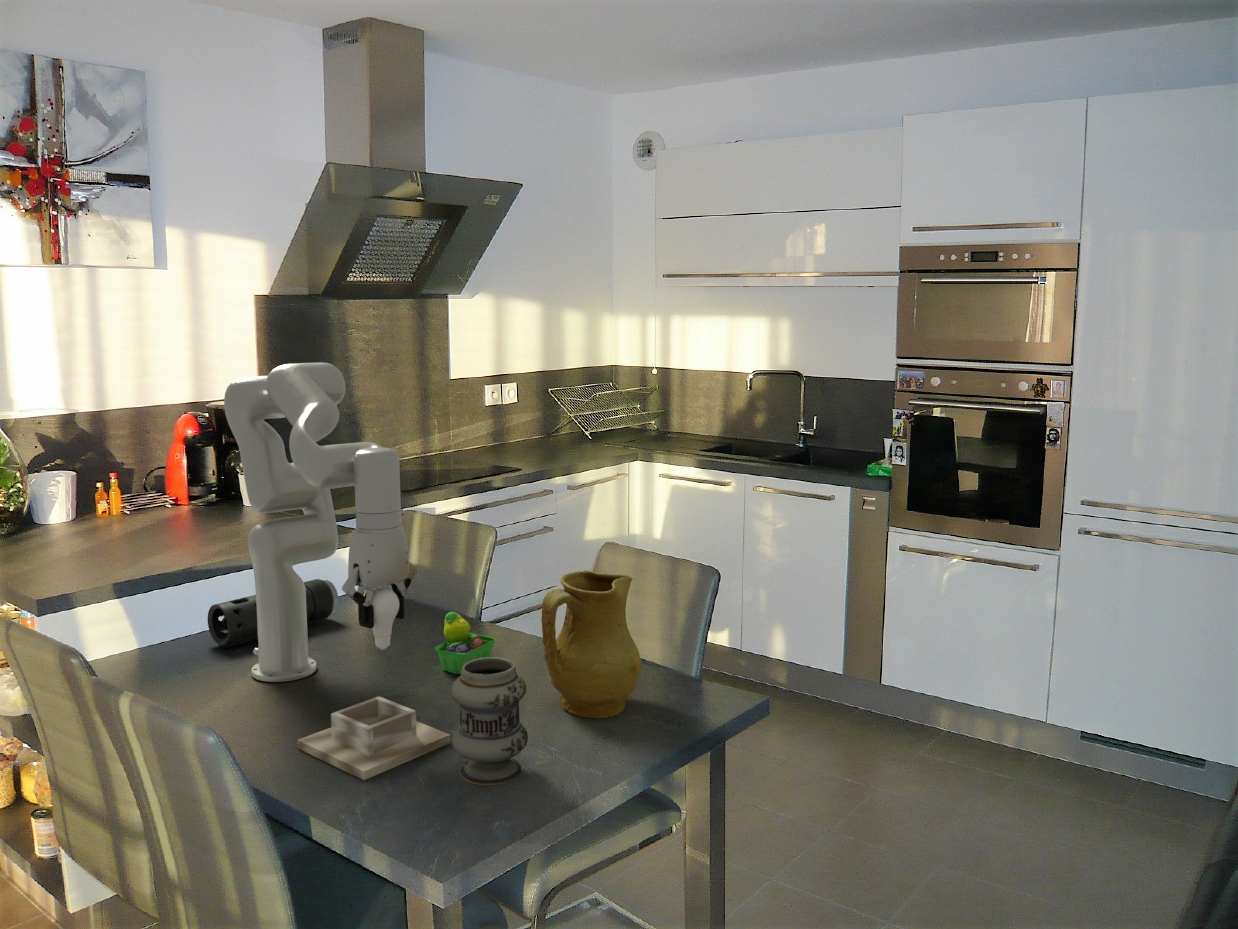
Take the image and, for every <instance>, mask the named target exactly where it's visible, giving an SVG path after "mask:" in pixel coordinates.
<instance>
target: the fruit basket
mask: <svg viewBox="0 0 1238 929" xmlns="http://www.w3.org/2000/svg"><path fill="white" fill-rule="evenodd" d="M443 626H444V627H443V635H444V638H445V639H446V641H445V642H443V643H441V644H439V645H437V646H436V647H435V651H436V654H438V659H439V662H440V664H441V665H440V666H441V668H442V671H444V672H448V673H451V674H458V675H460V676H461V671H462V667H463V665H464V664H465V663H467V662H469V661H471V660H474V659H478V658H484V657H491V653H492V651H493V650H492V649H493V645H494V644H495V642H496V638H494V637H492V636H491V637H490V636H486V635H482V634H477V633H472V632H470V631H471V629H472V627H471V625H470V623H469V622H468V621H467V620H466V619H465V618H463V617H462V616H461V615H460V614H459V613H457V612H455V611H449V612H447V613H446V615H445V616H444V625H443Z"/></svg>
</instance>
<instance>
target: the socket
mask: <svg viewBox="0 0 1238 929" xmlns="http://www.w3.org/2000/svg"><path fill="white" fill-rule="evenodd" d="M330 726H331V727H329V728H326V729H323V730H321V731H317V732H315V733H312V734H309V735H307V736H304V737H301V738H299V739H297V749H298V750H300V751H302V752H304V753H306V754H309V755H311V756H312V757H315V758H317V759H319V760H321V761H324V762H325V763H328V764H330V765H332V766H334V767H336V768H337V769H339V770H341V771H344V772H346V773H348V774H350V775H352V776H355V777H356V778H358V779H360V780H363V781H366V780H369V779H371V778H373V777H375V776H377V775H379V774H382V773H385V772H387V771H388V770H391V769H393V768H396V767H399V766H401V765H403V764H405V763H407V762H411V761H412V760H413V759H416V758H418V757H422V756H423V755H426V754H427V753H430V752H433V751H435V750H437V749H439V748H441V747H442V748H443V746H447V745H448V744H450V743H451V734H449V733H447V732H445V731H442V730H439V729H437V728H435V727H432V726H430V725H427V724H424V723H423V722H419V721H418V720H417V710H415V709H412V708H410V707H407V706H405V705H402V704H399V703H397V702H395V701H393V700H389V699H387V698H384V697H382V696H379V695H378V696H376V697H372V698H371V699H370V698H369V699H367V700H365V701H362V702H358V703H356V704H353V705H351V706H347V707H345V708H343V709H340V710H337V711H334V712H332V713H330Z"/></svg>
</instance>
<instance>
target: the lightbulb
mask: <svg viewBox="0 0 1238 929" xmlns="http://www.w3.org/2000/svg"><path fill="white" fill-rule="evenodd" d="M370 605H373V611H374V627H373V628H371V629H372V634H373V636H374V643H375V646H376V648H379V649H380V650H382V651H383V650H386V649H387V648H388V647H390V645H391V635H392V633H393V632H392V628H393V623H394V620H395V619H396V618H395V617H396V615H397V613H398V610H399V599H398V597H397V595H396V594H395V593H394V592H393V591H392V590H391V589H390V588H388V587H379V588H375V589H374V591H373V595H372V599H371V602H370Z"/></svg>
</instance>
